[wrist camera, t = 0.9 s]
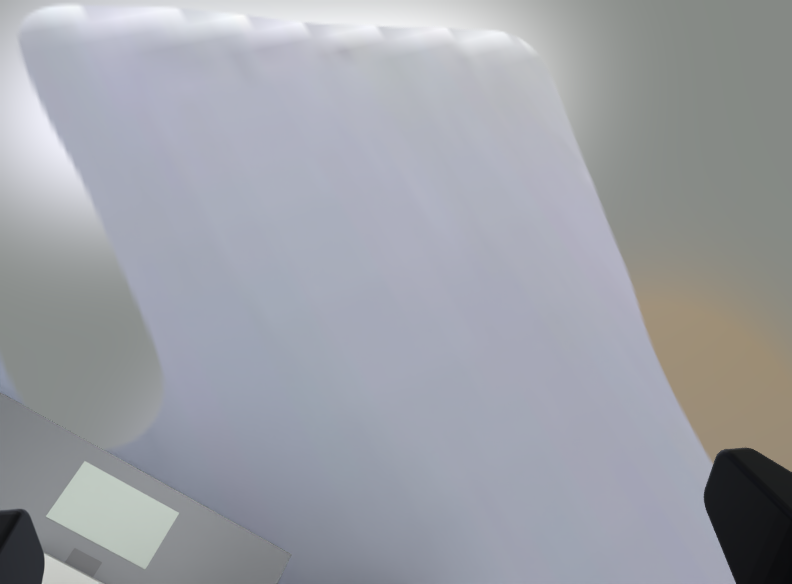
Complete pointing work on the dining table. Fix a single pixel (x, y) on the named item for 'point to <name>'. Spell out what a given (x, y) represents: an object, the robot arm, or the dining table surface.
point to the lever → (64, 573)
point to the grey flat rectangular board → (119, 513)
